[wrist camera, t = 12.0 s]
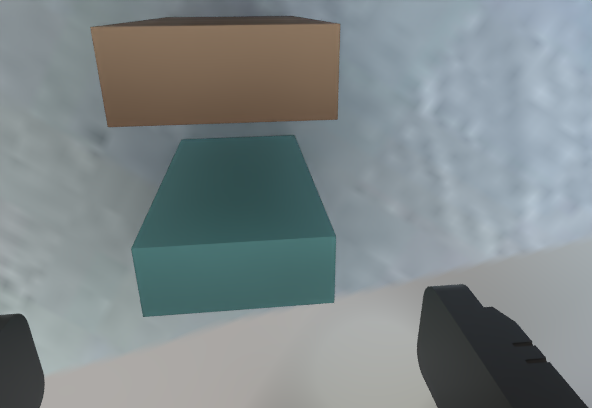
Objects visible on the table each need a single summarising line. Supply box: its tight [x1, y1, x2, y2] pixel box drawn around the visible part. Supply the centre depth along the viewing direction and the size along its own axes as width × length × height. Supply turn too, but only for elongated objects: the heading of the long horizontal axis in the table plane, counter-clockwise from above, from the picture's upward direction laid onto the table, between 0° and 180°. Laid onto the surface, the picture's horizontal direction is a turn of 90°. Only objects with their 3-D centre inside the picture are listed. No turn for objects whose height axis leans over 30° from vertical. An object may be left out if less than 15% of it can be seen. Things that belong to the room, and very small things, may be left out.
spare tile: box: [131, 135, 336, 317], centre depth 16 cm, size 2×5×10 cm, turn 91°
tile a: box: [90, 16, 340, 127], centre depth 14 cm, size 2×5×10 cm, turn 91°
